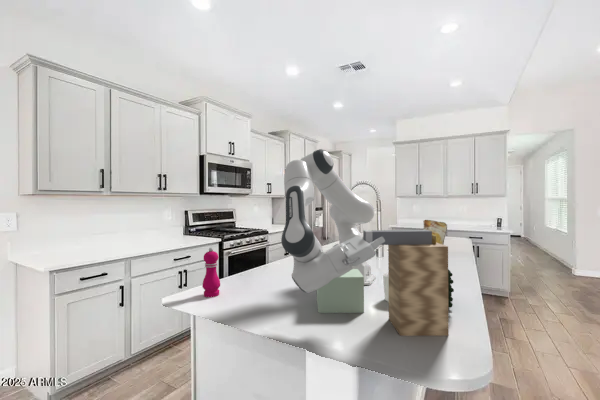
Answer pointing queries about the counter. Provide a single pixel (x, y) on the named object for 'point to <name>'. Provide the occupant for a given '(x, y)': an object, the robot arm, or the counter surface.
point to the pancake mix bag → (436, 229)
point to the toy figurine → (450, 289)
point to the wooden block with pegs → (418, 289)
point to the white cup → (386, 286)
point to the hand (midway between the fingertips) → (379, 236)
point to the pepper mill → (211, 274)
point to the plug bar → (399, 236)
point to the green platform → (342, 294)
